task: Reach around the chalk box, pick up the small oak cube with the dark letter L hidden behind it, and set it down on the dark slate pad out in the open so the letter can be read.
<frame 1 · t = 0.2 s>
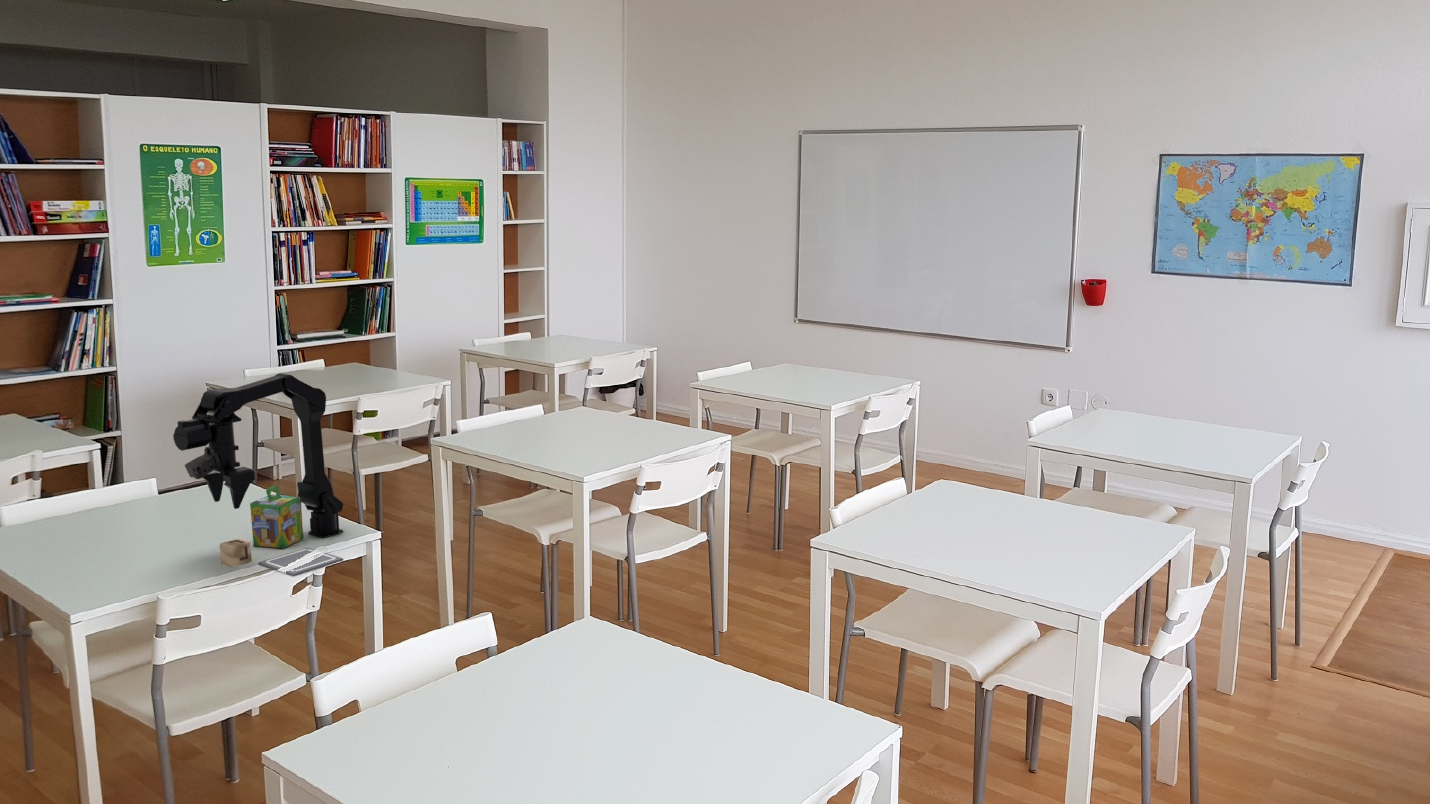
hand: (226, 505, 268), 14 cm above the table, fingers open, 9 cm apart
slate pad: (301, 562, 271), on the table
chalk box: (278, 543, 286), on the table
letter cube: (236, 562, 271), on the table
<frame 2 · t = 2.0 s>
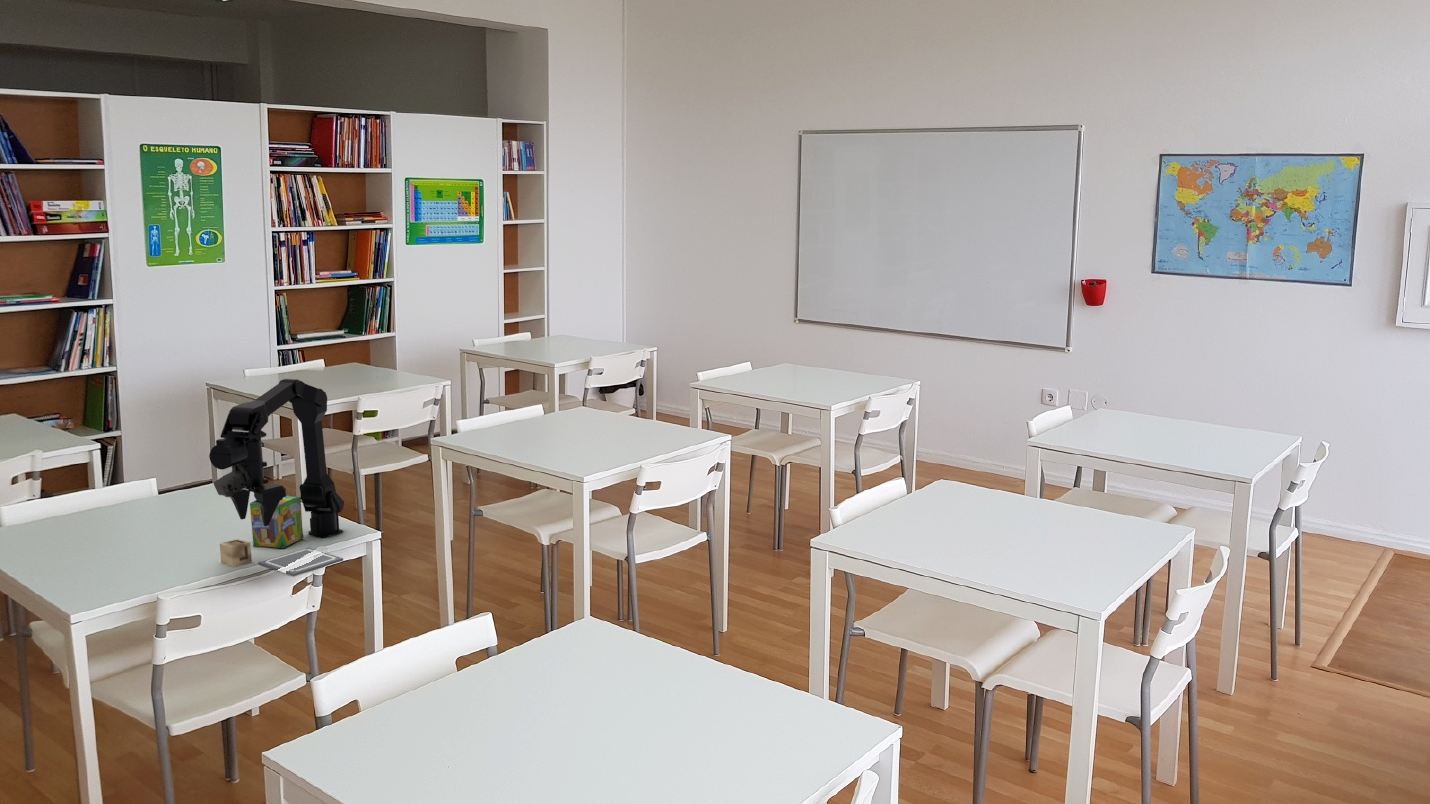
hand: (254, 522, 264), 12 cm above the table, fingers open, 9 cm apart
nothing on the table moved.
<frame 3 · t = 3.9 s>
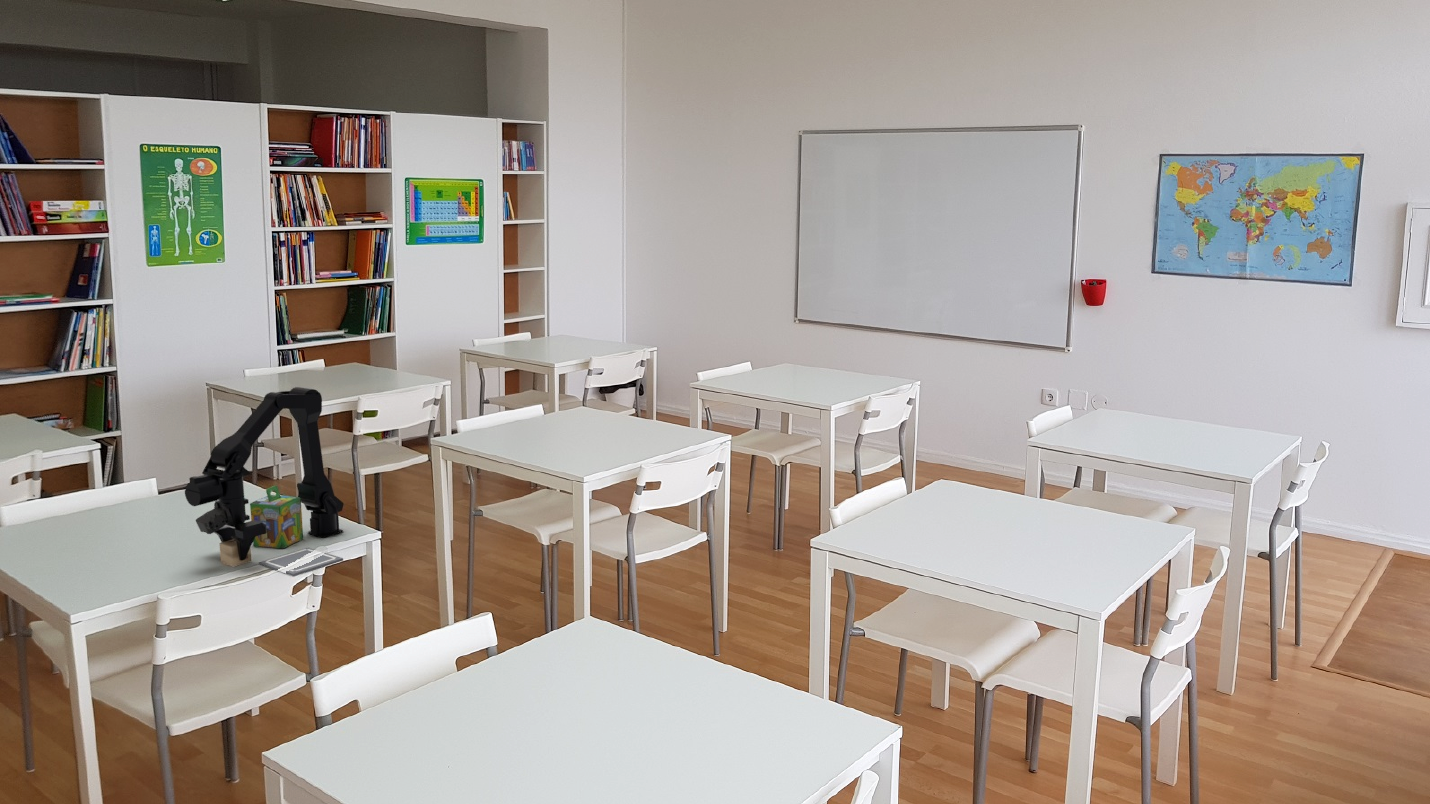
hand: (236, 557, 271), 1 cm above the table, fingers closed on letter cube, 5 cm apart
letter cube: (236, 562, 271), on the table, touching gripper
everything else where it was.
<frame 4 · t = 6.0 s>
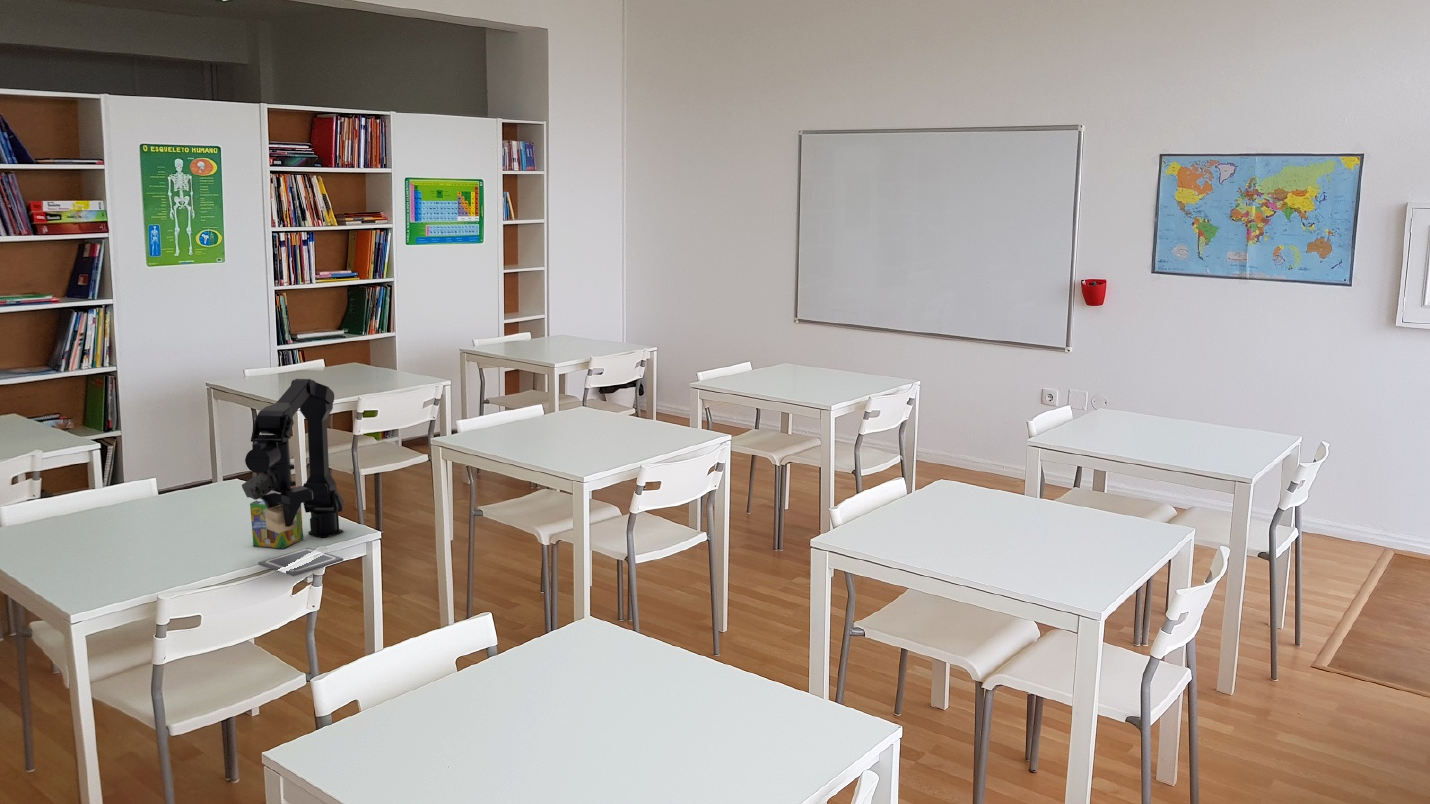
hand: (282, 524, 266), 10 cm above the table, fingers closed on letter cube, 5 cm apart
letter cube: (281, 528, 267), point 9 cm above the table, touching gripper
everything else where it was.
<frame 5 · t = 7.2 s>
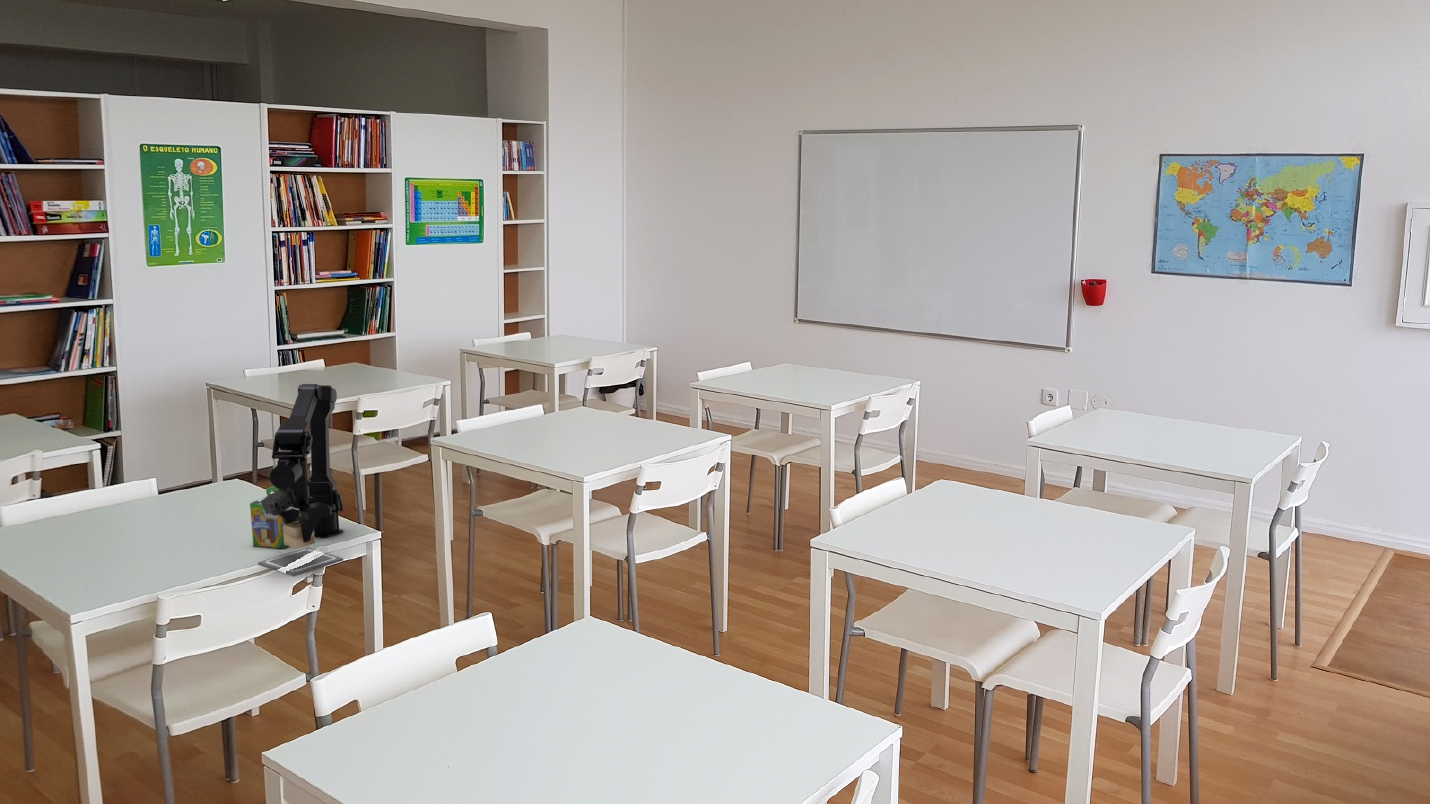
hand: (299, 539, 270), 6 cm above the table, fingers closed on letter cube, 5 cm apart
letter cube: (299, 544, 270), point 5 cm above the table, touching gripper
everything else where it was.
when the fingers open (3 cm above the table, at t = 8.2 s): letter cube stays where it is, resting on slate pad.
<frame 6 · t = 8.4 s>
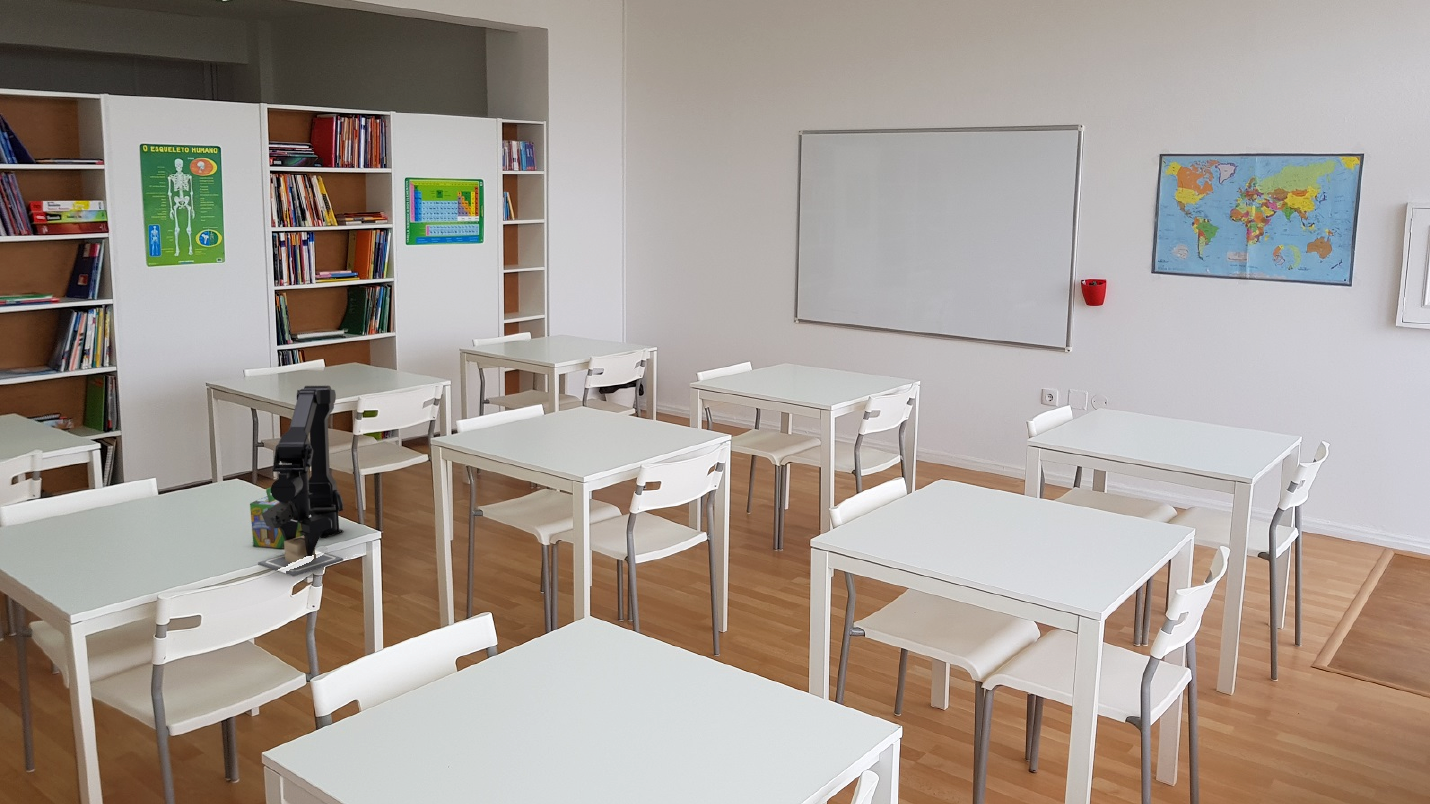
hand: (300, 552, 270), 3 cm above the table, fingers open, 7 cm apart
letter cube: (300, 560, 271), point 1 cm above the table, touching slate pad
everything else where it was.
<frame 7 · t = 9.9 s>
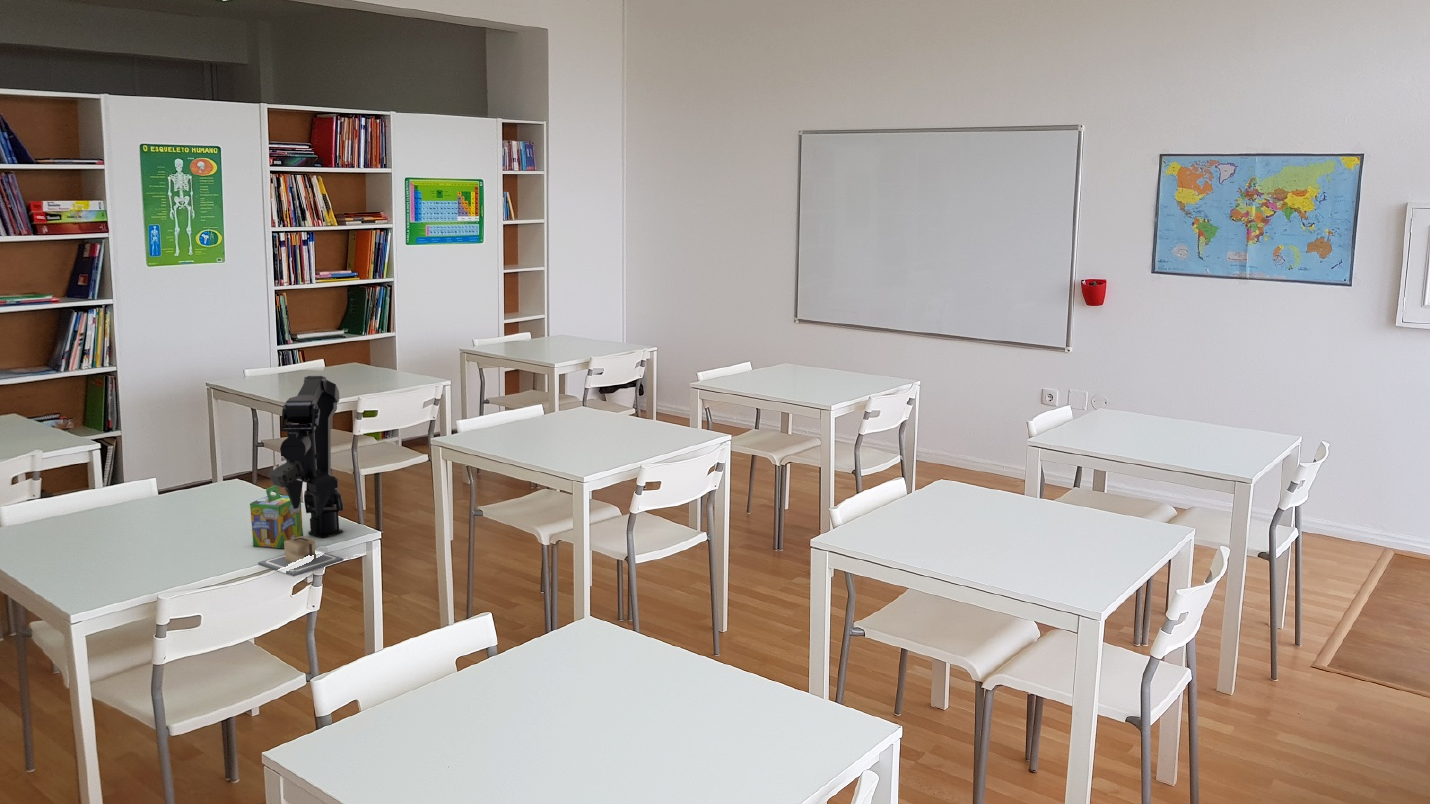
hand: (307, 512, 272), 12 cm above the table, fingers open, 9 cm apart
nothing on the table moved.
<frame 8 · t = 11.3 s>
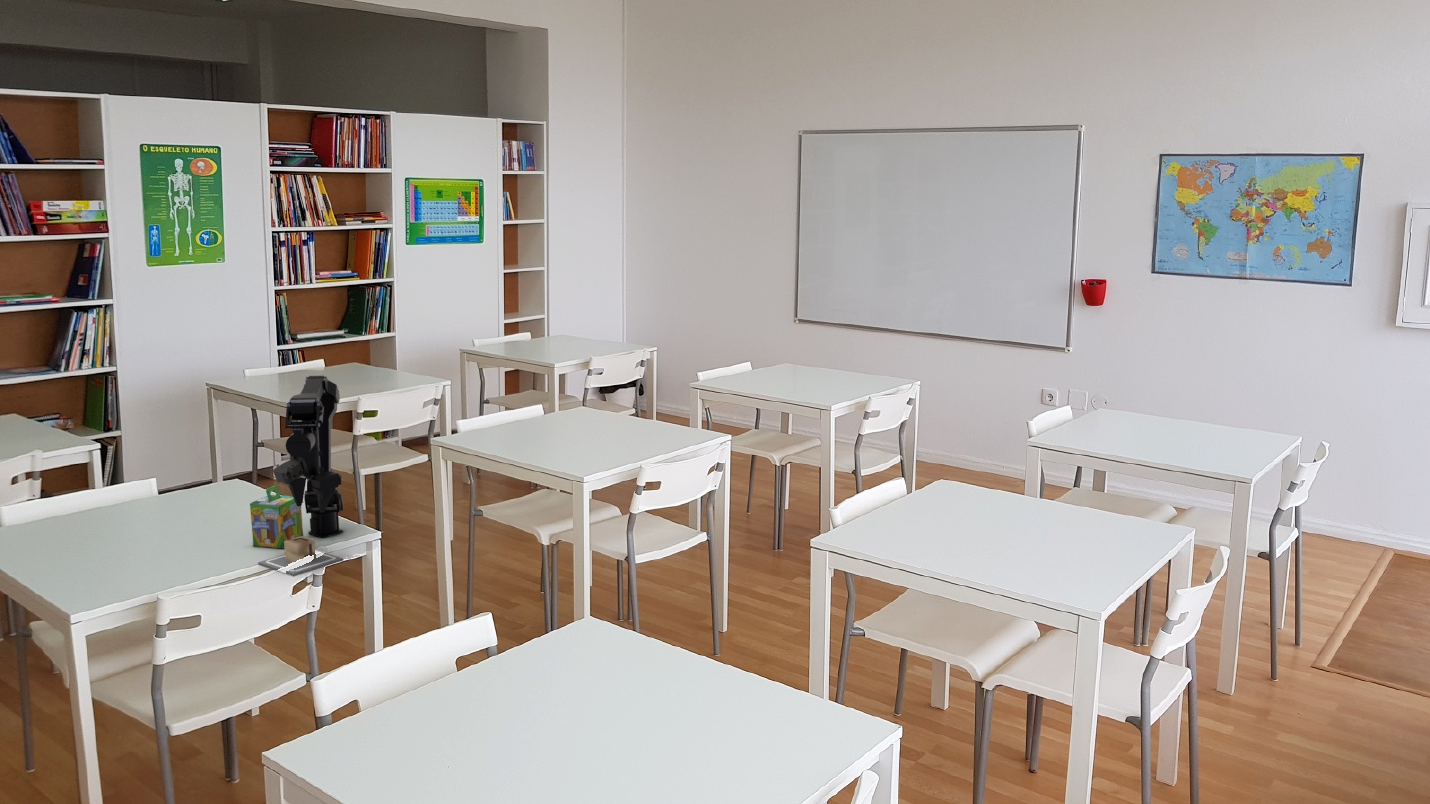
hand: (310, 509, 274), 12 cm above the table, fingers open, 9 cm apart
nothing on the table moved.
at the end: letter cube inside the target area on the slate pad (0.1 cm from its centre), point 0.6 cm above the slate pad's base; letter cube tilted 0°; the gripper is holding nothing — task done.
